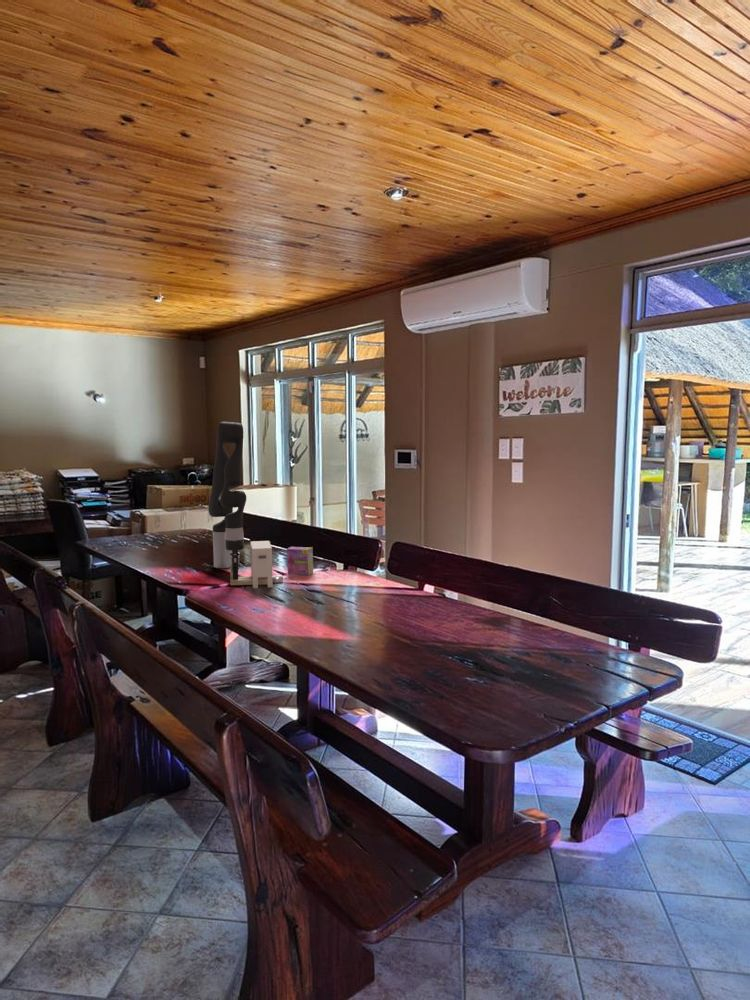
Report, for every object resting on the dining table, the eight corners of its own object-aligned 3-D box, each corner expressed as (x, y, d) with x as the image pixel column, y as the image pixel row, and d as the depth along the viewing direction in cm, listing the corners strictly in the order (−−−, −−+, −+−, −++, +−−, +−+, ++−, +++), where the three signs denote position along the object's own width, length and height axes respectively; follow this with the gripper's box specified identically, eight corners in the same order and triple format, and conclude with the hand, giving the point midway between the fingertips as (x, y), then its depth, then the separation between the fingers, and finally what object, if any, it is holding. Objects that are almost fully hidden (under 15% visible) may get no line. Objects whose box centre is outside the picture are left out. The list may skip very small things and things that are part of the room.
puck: (270, 581, 276) (270, 576, 275) (282, 580, 277) (282, 576, 277) (271, 583, 271) (271, 579, 271) (283, 583, 272) (283, 578, 272)
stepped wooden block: (230, 581, 273) (230, 562, 272) (270, 580, 277) (270, 562, 276) (230, 585, 266) (230, 566, 265) (271, 584, 270) (271, 565, 269)
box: (287, 574, 289) (286, 548, 287) (292, 571, 294) (291, 546, 293) (308, 575, 286) (308, 549, 284) (313, 572, 291) (313, 547, 290)
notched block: (251, 578, 280) (250, 541, 278) (269, 577, 282) (269, 540, 280) (253, 588, 262) (252, 549, 260) (272, 587, 264) (271, 548, 262)
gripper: (225, 535, 274) (226, 575, 276) (225, 541, 260) (226, 582, 262) (243, 535, 275) (244, 574, 277) (243, 540, 262) (245, 581, 264)
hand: (235, 578), depth 270 cm, fingers closed on stepped wooden block, 3 cm apart
